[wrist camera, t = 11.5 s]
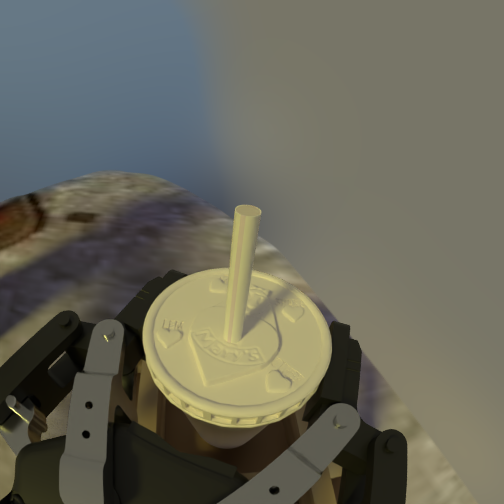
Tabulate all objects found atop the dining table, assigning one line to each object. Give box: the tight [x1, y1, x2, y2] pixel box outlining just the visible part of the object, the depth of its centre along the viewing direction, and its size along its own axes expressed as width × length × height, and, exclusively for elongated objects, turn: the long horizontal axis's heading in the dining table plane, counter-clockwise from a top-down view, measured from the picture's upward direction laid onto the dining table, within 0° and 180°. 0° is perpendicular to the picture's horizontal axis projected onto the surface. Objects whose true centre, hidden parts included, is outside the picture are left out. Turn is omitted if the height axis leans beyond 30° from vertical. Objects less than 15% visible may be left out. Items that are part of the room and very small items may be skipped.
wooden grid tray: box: [136, 359, 342, 504], centre depth 15 cm, size 17×17×4 cm
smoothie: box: [143, 205, 332, 449], centre depth 10 cm, size 6×6×14 cm
